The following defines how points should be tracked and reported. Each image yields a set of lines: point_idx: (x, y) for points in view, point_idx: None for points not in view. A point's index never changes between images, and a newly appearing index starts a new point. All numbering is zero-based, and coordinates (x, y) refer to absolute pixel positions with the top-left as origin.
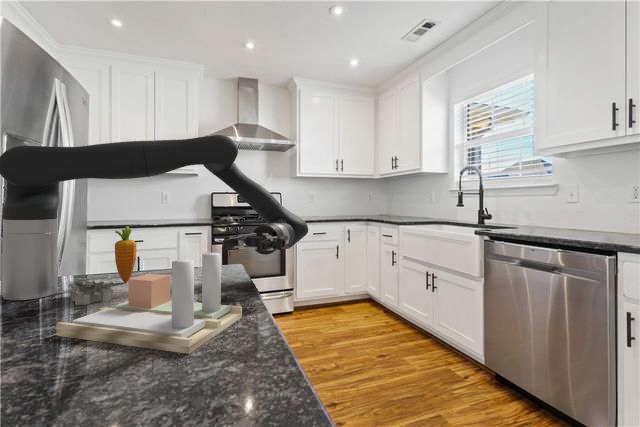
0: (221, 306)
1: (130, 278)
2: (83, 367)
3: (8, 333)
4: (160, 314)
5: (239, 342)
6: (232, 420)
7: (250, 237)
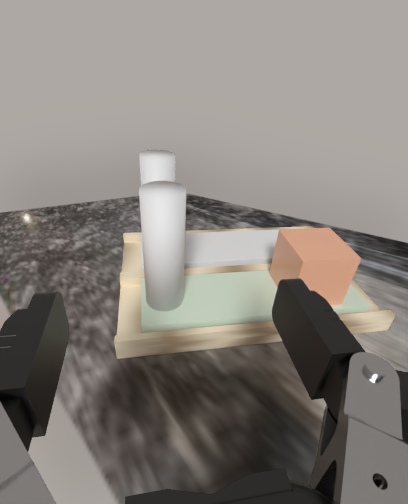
0: (156, 316)
1: (331, 230)
2: (202, 218)
3: (356, 232)
4: (234, 268)
5: (74, 279)
6: (35, 208)
7: (282, 499)
